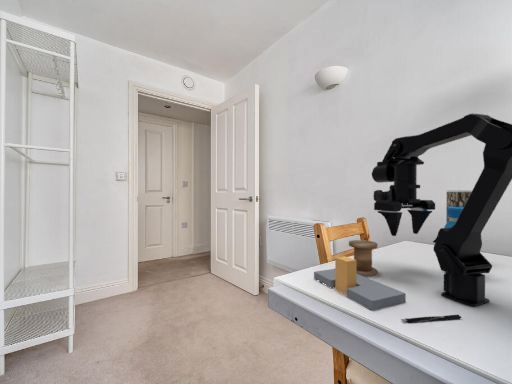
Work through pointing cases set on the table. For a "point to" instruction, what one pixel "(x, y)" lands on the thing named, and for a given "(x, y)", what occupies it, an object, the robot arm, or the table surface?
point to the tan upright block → (345, 273)
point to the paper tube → (456, 199)
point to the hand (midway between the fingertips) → (404, 234)
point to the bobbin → (364, 257)
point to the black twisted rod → (431, 319)
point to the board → (365, 291)
